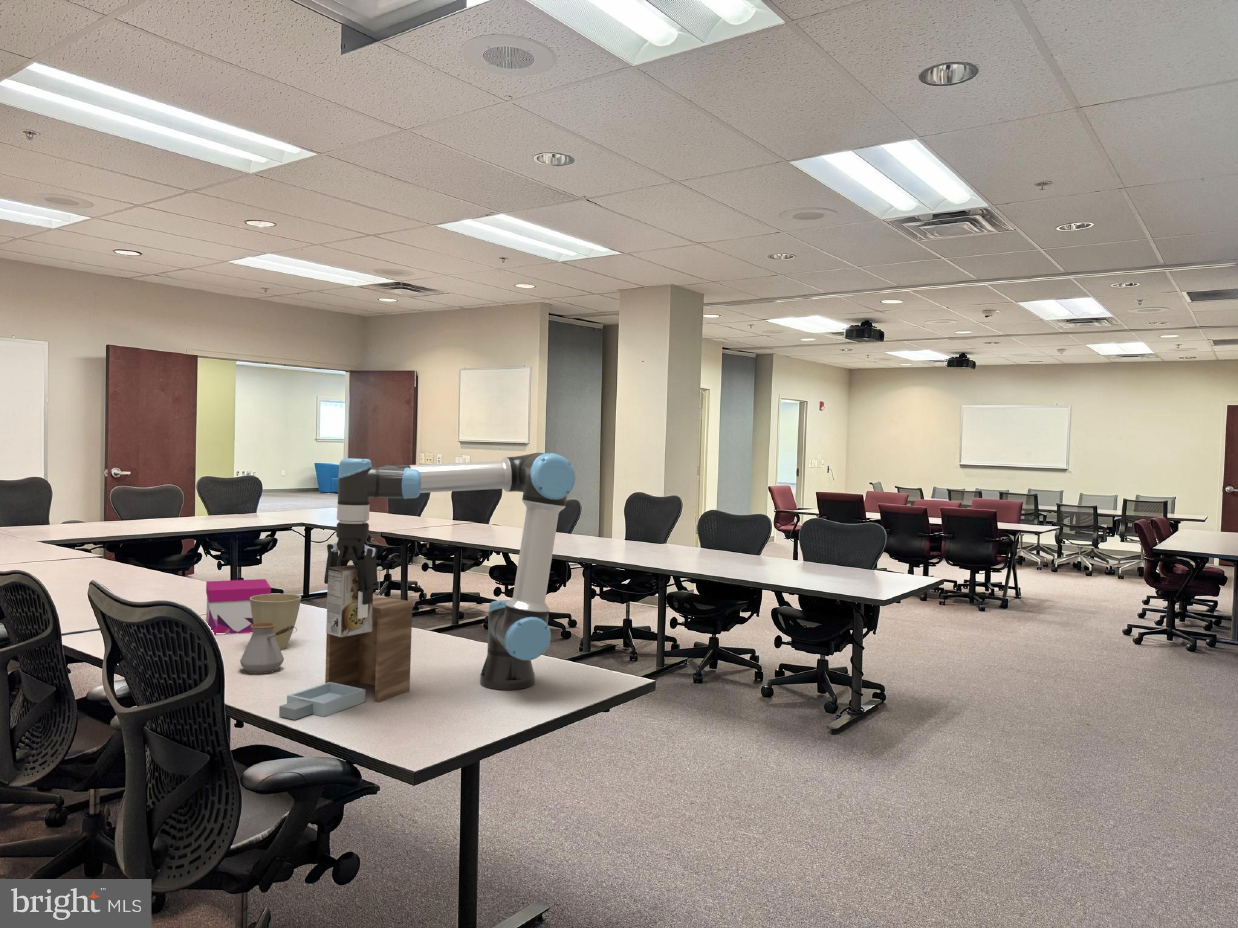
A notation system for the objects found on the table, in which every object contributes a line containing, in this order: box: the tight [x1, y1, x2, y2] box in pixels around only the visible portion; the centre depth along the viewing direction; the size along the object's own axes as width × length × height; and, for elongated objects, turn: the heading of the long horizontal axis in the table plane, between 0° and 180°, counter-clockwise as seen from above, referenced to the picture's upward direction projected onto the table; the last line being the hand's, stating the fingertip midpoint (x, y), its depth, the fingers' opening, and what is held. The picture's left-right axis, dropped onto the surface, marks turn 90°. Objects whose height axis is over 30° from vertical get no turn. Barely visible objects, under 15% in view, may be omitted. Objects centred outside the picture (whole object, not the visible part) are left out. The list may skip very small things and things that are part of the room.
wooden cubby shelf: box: [324, 595, 413, 703], centre depth 223 cm, size 18×12×24 cm, turn 64°
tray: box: [278, 682, 366, 721], centre depth 208 cm, size 12×20×3 cm, turn 154°
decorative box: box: [205, 578, 272, 636], centre depth 291 cm, size 19×19×15 cm
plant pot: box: [250, 593, 302, 651], centre depth 266 cm, size 15×15×16 cm
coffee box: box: [325, 564, 374, 637], centre depth 207 cm, size 9×6×16 cm
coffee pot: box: [239, 623, 298, 675], centre depth 237 cm, size 21×12×15 cm, turn 52°
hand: (349, 615), depth 207 cm, fingers closed on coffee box, 7 cm apart
